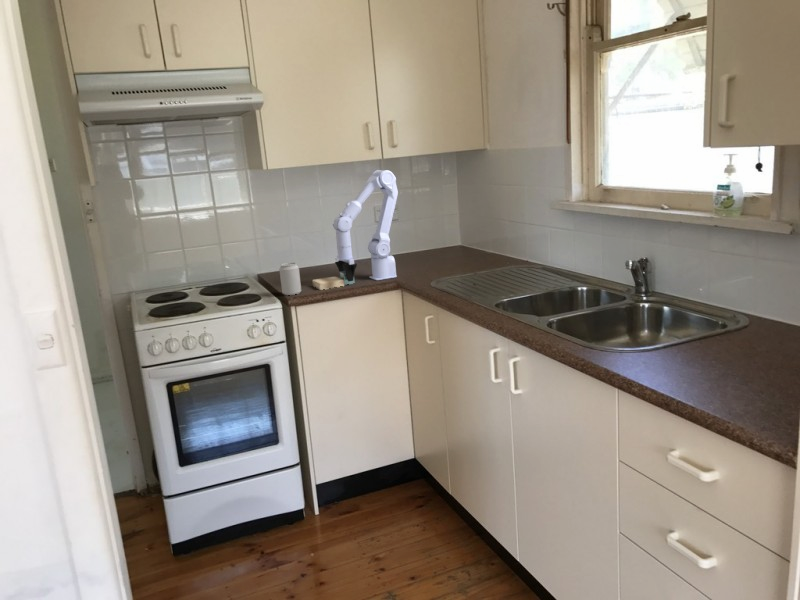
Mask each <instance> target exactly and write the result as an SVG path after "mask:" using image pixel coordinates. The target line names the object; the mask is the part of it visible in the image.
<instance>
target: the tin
mask: <svg viewBox="0 0 800 600" xmlns="http://www.w3.org/2000/svg"><path fill="white" fill-rule="evenodd" d="M339 278H340V279H342V280H344V286H348V285H347V284H349V285H354V284H353V283H356V281H355V278H354V279H353V281H348V280H347V276H346V272H345V271H341V272H339Z"/></svg>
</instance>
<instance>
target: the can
mask: <svg viewBox="0 0 800 600" xmlns="http://www.w3.org/2000/svg"><path fill="white" fill-rule="evenodd" d="M297 264H298V263H297V262H286V263H285V262H284V263H281V264H280V267H279V268H278V269H279V277H280V285H281V293H282V294H283V295H284V296H288V295H290V296H296V295H295V294H297V295H299V294H300V293H301V292H302V285H301V276H300V267H299V265H297Z"/></svg>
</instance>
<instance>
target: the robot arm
mask: <svg viewBox="0 0 800 600" xmlns="http://www.w3.org/2000/svg"><path fill="white" fill-rule="evenodd" d="M396 181H397V178H396V175H394V173H393V172H392V170H391V171H390V170H388V169H386V170H382V169H381V170H380V169H377V170H375V171H373V173H372V174H371V175H370V176H369V177H368V179H367V181H366V182H365V184H364V185H363V187H362V189H361V190H360V192H359V193H358V195H357V196H356V197H355V199H354V200H350V201H349V202H346V204H345V208H344V209H343V210H342V212H339V214H338V216H337V217H336V218H335V219H334V220H333V223H332V226H333V228H334V230H335V238H336V249H337V256H336V258H335V261H334V264H335V266H336V267H337V270H338V271H339V273H340V272H341V271H345V272H346V276H347V280H348V281H353V279H354V280H355V272H356V268H357V267H358V263H355V259H354V257H353V250H352V239H351V229H352V226H353V222H354V221H355V220H356V218H357V217H358V216H359V214H360V213H361V211H362V205H363V204H364V203H365V201H366V200H367V199H368V198H369V197H370V195H372V193H373V192H374V191H376V190H378V189H380V191H381V192H382V194H383V199H382V204H381V209H380V214H379V217H378V222H377V227H376V230H375V232H374V234H373V235H372V237H371V241H370V242H369V243H368V245H367V246H368V247H367V249H368V252H369V253H370V254H371V255H370V259H371V271H372V272H371V273H372V275H371V276H369V279H372V280H375V281H380V280H388V279H393V278H397V277H398V275H397V268H396V260H395V257H394V256H393V255H389V254H390V252H391V246H390V243H391V239H390V236H389V234H390V232H391V231H390V230H391V225H392V222H393V217H394V212H395V208H396V204H397V201H398V200H397V199H398V195H399V190H398V186H397V182H396Z"/></svg>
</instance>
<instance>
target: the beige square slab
mask: <svg viewBox="0 0 800 600" xmlns="http://www.w3.org/2000/svg"><path fill="white" fill-rule="evenodd" d="M311 281H312V287H314V288H315V287H316V289H318V290H319V291H324V290H323V289H325V290H330V289H329V288H331V289H335V288H334V287H337V288H341V287H340V286H343V287H345V285H344V280H342V279H340V277H338V276H330V277H322V278H316V279H312V280H311Z"/></svg>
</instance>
